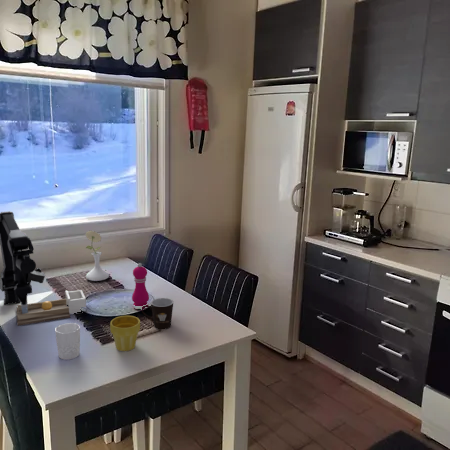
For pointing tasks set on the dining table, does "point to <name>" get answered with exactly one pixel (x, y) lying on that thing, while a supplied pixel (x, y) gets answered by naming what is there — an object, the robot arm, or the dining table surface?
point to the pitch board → (43, 312)
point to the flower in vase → (96, 259)
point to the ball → (46, 305)
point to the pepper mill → (140, 286)
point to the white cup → (68, 340)
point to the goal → (75, 300)
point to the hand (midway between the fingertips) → (24, 303)
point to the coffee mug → (161, 312)
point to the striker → (24, 308)
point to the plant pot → (125, 332)
